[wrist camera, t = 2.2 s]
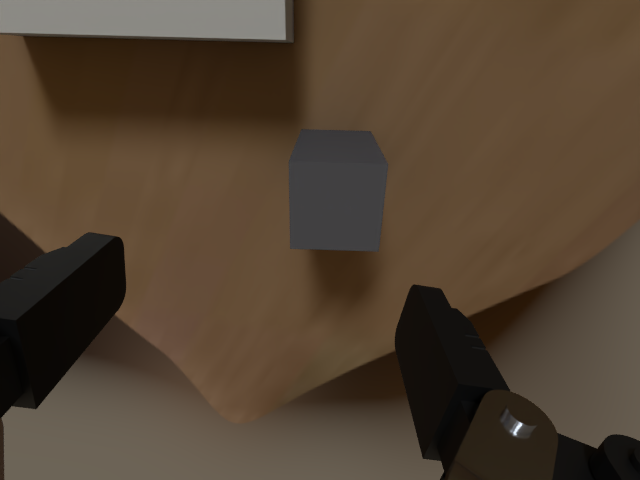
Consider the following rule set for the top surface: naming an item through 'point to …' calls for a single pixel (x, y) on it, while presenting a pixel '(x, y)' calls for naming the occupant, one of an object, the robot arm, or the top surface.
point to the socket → (151, 19)
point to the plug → (336, 191)
